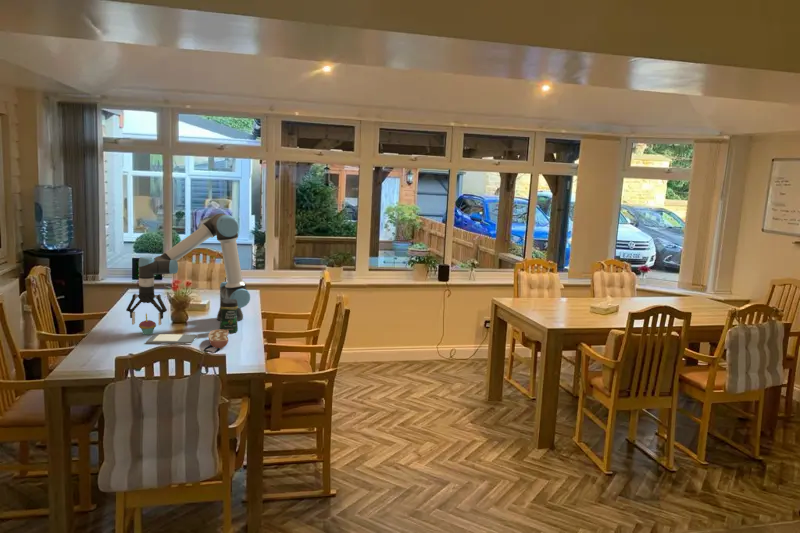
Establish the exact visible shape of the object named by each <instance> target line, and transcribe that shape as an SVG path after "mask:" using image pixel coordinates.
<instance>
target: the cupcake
mask: <svg viewBox="0 0 800 533" xmlns="http://www.w3.org/2000/svg"><path fill="white" fill-rule="evenodd" d="M138 327H139V328H140V330H141V332H142V334H143V335H152V334H153V332H154V331H155V328H156V327H157V323H156V322H155V321H153V320H150V319H148V314H147V313H145V320H143V321H140V323H139V324H138Z"/></svg>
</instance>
